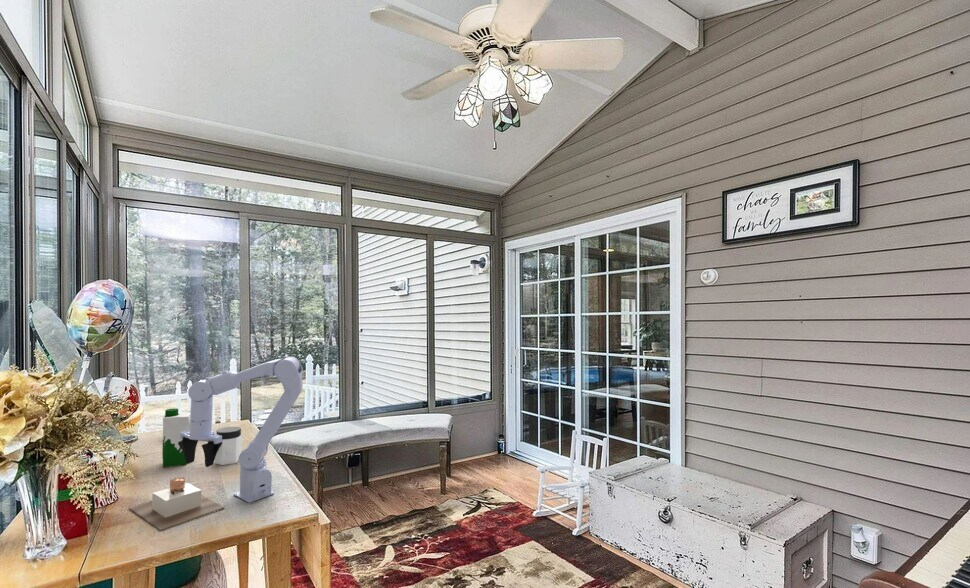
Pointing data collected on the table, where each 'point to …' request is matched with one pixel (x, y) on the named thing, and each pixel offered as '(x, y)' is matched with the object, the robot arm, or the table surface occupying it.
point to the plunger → (177, 485)
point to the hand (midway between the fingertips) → (199, 464)
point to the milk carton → (174, 437)
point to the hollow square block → (176, 500)
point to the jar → (229, 446)
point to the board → (177, 519)
